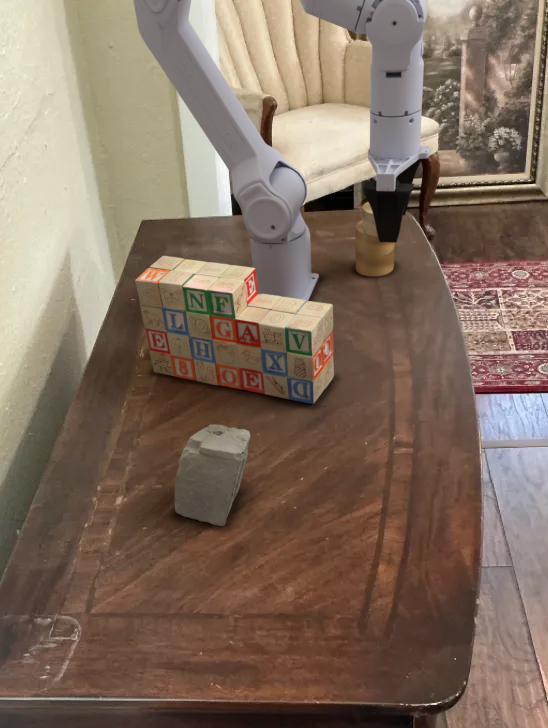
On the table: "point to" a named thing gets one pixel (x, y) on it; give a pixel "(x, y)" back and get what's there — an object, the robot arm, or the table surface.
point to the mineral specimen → (211, 473)
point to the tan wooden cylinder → (368, 220)
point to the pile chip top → (370, 243)
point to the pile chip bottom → (374, 264)
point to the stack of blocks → (234, 330)
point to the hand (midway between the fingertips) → (392, 227)
